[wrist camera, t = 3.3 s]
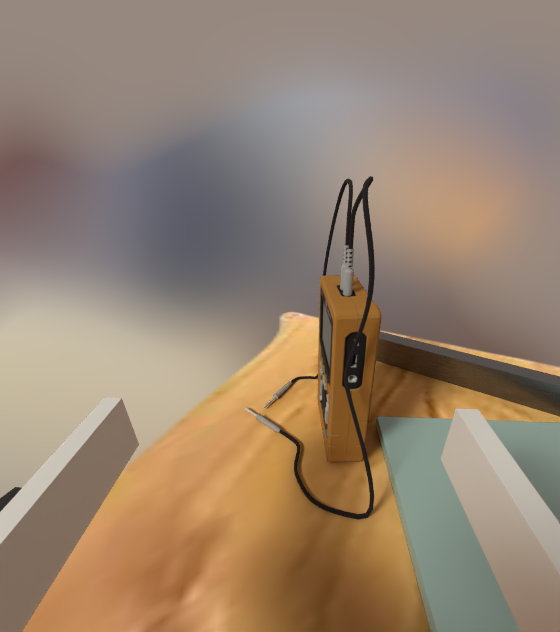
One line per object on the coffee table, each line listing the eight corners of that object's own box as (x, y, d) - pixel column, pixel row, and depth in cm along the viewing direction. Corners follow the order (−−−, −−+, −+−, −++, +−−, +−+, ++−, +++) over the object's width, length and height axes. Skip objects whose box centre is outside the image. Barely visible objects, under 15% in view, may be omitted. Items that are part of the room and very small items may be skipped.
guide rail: (601, 417, 25) (617, 390, 24) (605, 430, 24) (623, 402, 22) (358, 347, 37) (359, 326, 35) (353, 353, 35) (355, 332, 34)
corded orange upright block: (248, 378, 32) (226, 180, 23) (338, 376, 32) (351, 175, 23) (224, 522, 19) (151, 189, 10) (378, 520, 19) (443, 176, 10)
